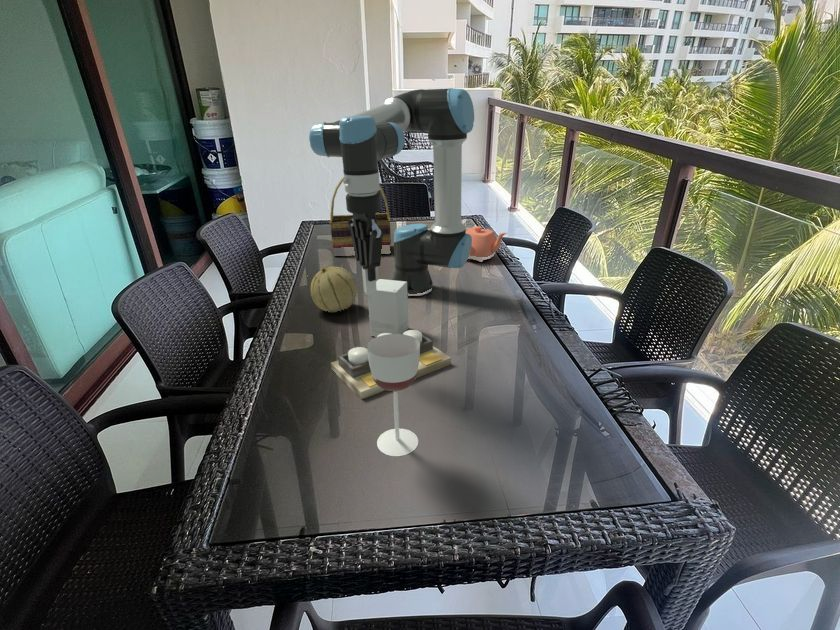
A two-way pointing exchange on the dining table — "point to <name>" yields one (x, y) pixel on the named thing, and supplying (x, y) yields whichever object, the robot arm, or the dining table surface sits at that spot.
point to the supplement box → (388, 307)
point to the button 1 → (358, 356)
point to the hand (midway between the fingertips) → (370, 291)
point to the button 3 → (414, 334)
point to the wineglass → (395, 383)
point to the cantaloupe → (333, 289)
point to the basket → (342, 229)
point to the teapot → (483, 241)
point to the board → (362, 377)
